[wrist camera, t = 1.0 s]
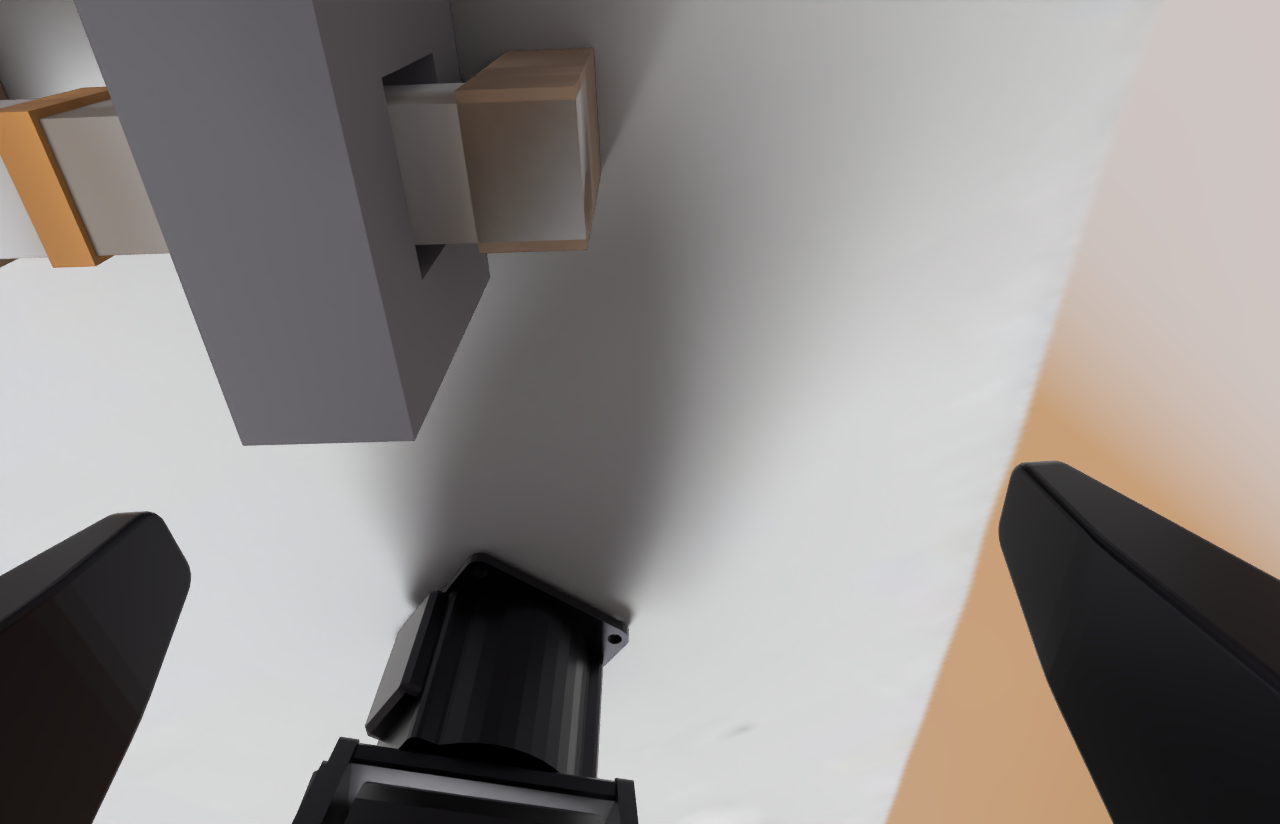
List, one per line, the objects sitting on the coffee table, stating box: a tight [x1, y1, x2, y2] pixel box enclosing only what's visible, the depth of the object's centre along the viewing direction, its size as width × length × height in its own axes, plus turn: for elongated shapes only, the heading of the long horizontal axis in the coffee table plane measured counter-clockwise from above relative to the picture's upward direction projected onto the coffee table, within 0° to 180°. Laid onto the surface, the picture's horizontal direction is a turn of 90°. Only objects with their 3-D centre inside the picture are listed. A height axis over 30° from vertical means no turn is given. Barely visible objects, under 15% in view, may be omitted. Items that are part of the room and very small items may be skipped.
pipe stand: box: [0, 48, 601, 268], centre depth 15 cm, size 16×9×6 cm, turn 92°
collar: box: [74, 0, 490, 446], centre depth 14 cm, size 3×8×8 cm, turn 2°
